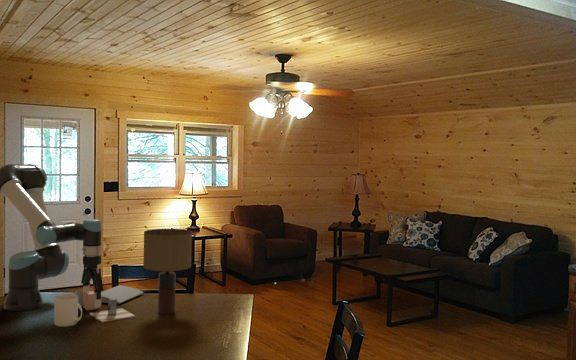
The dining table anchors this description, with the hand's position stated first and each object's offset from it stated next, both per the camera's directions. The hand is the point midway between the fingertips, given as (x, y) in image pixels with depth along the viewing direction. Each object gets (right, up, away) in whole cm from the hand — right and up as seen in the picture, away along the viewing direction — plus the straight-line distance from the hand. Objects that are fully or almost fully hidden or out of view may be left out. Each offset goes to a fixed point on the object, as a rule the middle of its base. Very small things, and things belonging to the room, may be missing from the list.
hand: (91, 303), depth 235 cm
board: (+12, -3, -10) cm, 16 cm away
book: (+6, -2, +18) cm, 19 cm away
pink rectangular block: (0, -2, 0) cm, 2 cm away
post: (+12, -3, -10) cm, 16 cm away
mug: (0, -3, -23) cm, 23 cm away
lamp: (+33, -3, -2) cm, 33 cm away
